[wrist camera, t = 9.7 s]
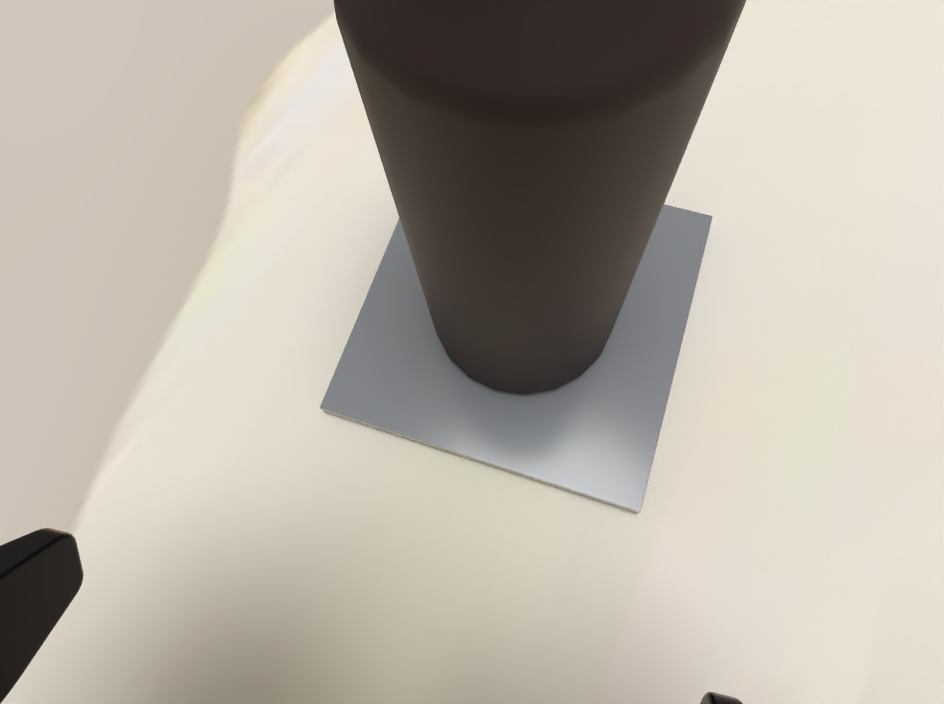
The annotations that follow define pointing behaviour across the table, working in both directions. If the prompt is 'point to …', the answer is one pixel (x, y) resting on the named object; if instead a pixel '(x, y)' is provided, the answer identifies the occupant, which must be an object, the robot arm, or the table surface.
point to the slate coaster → (536, 414)
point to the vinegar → (531, 159)
